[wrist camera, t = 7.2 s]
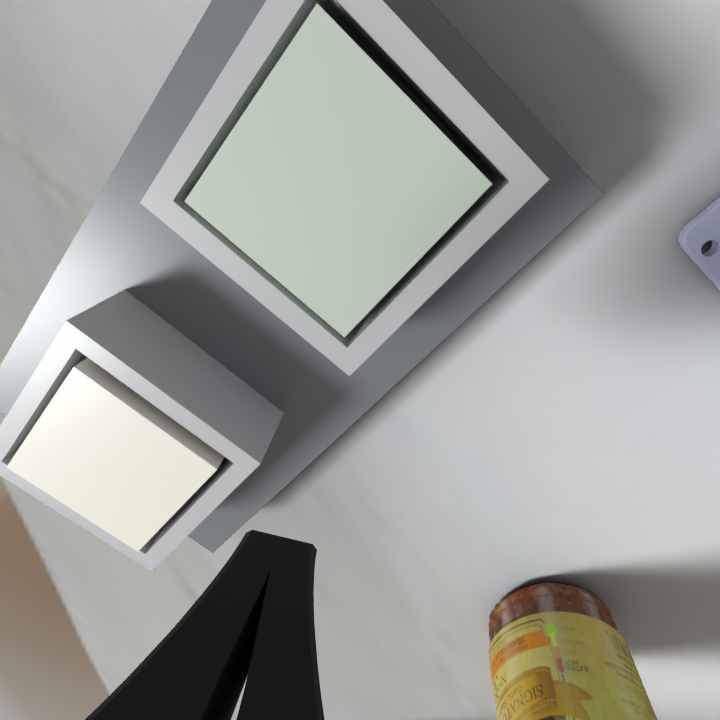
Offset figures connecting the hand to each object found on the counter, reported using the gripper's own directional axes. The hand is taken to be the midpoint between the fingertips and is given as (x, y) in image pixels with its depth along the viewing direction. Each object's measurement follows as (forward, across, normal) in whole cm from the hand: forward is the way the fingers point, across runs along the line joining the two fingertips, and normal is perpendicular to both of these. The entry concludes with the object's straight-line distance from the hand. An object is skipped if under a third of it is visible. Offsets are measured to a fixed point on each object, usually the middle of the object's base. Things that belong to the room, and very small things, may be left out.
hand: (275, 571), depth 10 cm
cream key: (+6, +6, +3) cm, 9 cm away
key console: (+10, +4, -2) cm, 11 cm away
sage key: (+6, +1, -7) cm, 9 cm away
